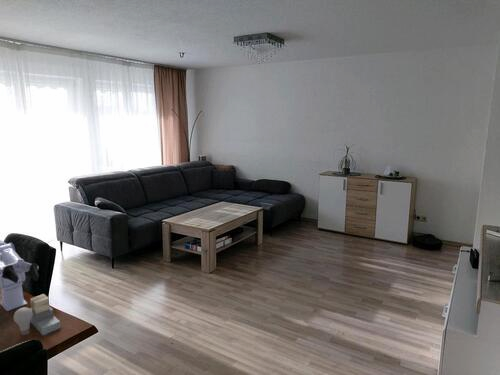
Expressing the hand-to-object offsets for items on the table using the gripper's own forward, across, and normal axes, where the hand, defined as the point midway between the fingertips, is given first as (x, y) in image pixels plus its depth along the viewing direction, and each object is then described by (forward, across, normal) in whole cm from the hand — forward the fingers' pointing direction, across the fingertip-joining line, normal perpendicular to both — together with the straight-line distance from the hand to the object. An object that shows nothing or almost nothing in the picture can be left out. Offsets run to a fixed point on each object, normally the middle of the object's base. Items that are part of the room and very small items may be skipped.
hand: (27, 279), depth 143 cm
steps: (+11, +7, +14) cm, 19 cm away
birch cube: (+7, +5, +10) cm, 13 cm away
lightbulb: (+12, 0, +16) cm, 21 cm away
